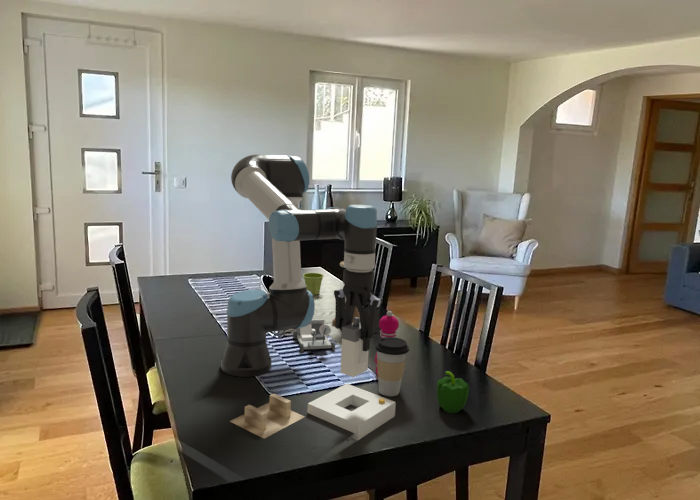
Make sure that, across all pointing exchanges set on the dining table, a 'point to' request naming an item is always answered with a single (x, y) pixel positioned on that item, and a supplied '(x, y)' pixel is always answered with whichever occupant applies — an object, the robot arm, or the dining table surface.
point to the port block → (358, 421)
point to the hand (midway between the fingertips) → (354, 359)
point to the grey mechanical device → (314, 335)
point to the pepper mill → (387, 328)
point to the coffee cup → (390, 364)
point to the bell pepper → (452, 393)
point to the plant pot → (313, 282)
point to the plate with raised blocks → (268, 417)
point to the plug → (352, 349)
